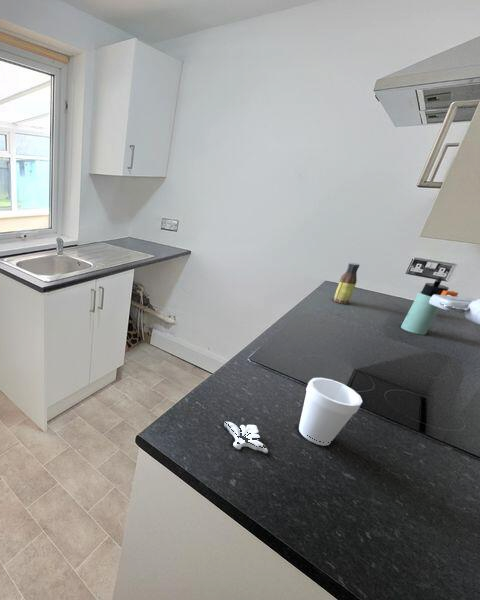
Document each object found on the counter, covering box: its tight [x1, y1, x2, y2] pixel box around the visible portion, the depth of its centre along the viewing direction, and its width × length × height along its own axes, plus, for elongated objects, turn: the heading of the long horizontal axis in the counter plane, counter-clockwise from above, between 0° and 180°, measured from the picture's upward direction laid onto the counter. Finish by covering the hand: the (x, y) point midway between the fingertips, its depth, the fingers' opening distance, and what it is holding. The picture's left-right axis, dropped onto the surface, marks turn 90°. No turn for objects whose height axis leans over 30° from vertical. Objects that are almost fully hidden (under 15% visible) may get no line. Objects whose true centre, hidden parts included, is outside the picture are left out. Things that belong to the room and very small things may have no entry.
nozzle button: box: [441, 290, 459, 296], centre depth 117 cm, size 2×4×4 cm, turn 77°
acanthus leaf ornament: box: [223, 421, 269, 454], centre depth 71 cm, size 8×7×2 cm
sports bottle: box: [400, 276, 450, 336], centre depth 126 cm, size 8×8×23 cm
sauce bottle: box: [333, 262, 361, 305], centre depth 153 cm, size 7×6×20 cm
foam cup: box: [298, 377, 363, 446], centre depth 71 cm, size 10×9×13 cm
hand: (450, 297), depth 117 cm, fingers closed
